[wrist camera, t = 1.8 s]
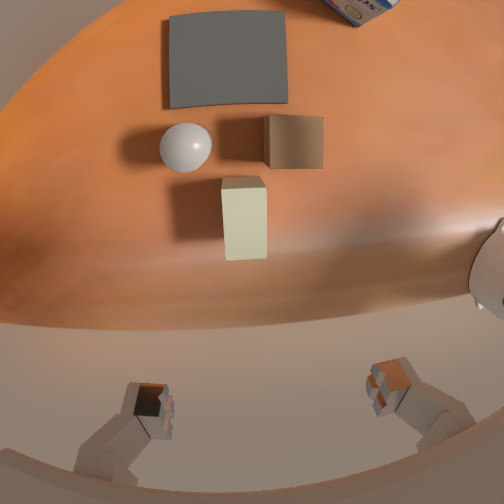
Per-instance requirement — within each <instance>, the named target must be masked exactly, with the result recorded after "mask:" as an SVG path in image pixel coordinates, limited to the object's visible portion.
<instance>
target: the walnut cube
mask: <svg viewBox="0 0 504 504" xmlns="http://www.w3.org/2000/svg"><path fill="white" fill-rule="evenodd" d="M263 140H264V163H265V164H266V165H267V166H268V167H269V168H270V169H323V117H315V116H287V115H269V116H265V117H263Z"/></svg>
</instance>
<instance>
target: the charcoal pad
mask: <svg viewBox="0 0 504 504" xmlns="http://www.w3.org/2000/svg"><path fill="white" fill-rule="evenodd" d="M169 87H170V109H179V108H188V107H199V106H211V105H228V104H287V103H288V80H287V52H286V31H285V13H284V12H283V11H260V10H237V11H214V12H202V13H192V14H183V15H176V16H169Z"/></svg>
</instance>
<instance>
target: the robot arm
mask: <svg viewBox="0 0 504 504" xmlns="http://www.w3.org/2000/svg"><path fill="white" fill-rule="evenodd" d="M469 290H470V293H471V294H472V296H473V297H474V298H475V305H476V307H477V308H478V309H482V308H486V309H487V310H488V311H489V312H490V313H492V314H493V315H494V316H496V317H497V318H498V319H499V320H500V321H502V322H504V218H503V219H502V221H501V222H500V224H499V226H498V228H497V229H496V231H495V232H494V233H493V234H492V235H491V236H490V237H489V238H488V239H487V240H486V242H485V243H484V244H483V246H482V248H481V249H480V251H479V253H478V255H477V257H476V259H475V261H474V264H473V266H472V270H471V273H470V279H469ZM370 371H371V373H372V374H371V375H369V376H368V378H367V381H366V391H367V394H368V396H369V398H371V399H372V400H374V403H373V408H374V410H375V412H376V415H377V417H380V416H384V415H388V414H392V413H395V414H396V415H398V416H399V417H400V418H401V419H403V420H404V421H405V422H406V423H408V424H409V425H410V426H411V427H413V428H414V429H415V430H417V431H418V432H419V433H421V434H422V435H423V437H422V438H421V439H420V440H419V442H418V443H417V445H416V447H417V449H418V451H419V452H418V453H415V454H413V455H410V456H408V457H405V458H403V459H400V460H397V461H395V462H392V463H389V464H386V465H383V466H380V467H377V468H374V469H370V470H367V471H364V472H360V473H357V474H353V475H349V476H345V477H341V478H337V479H333V480H329V481H323V482H318V483H313V484H308V485H302V486H296V487H289V488H282V489H273V490H262V491H249V492H224V493H208V492H206V493H205V492H183V491H170V490H159V489H151V488H144V487H137V482H138V479H137V477H136V476H135V475H134V474H132V472H130V471H129V470H128V467H129V466H130V465H131V464H132V463H133V462H134V460H135V459H136V458H137V457H138V455H139V454H140V453H141V452H142V451H143V449H144V448H145V447H146V446H147V445H148V443H149V442H150V441H151V439H160V440H171V437H172V427H173V426H172V424H171V422H170V420H172V418H174V402H173V399H172V396H170V395H169V394H168V393H169V388H168V386H167V384H150V383H137V382H130V383H129V384H128V386H127V389H126V393H125V397H124V401H123V404H122V408H121V411H120V414H116V415H115V416H114V417H112V418H111V419H110V420H109V421H108V422H107V423H106V424H105V425H103V426H102V427H101V428H100V429H99V430H98V431H97V432H95V433H94V434H93V435H92V436H91V437H90V438H89V439H88V440H86V441H85V442H84V443H83V444H82V445H81V446H80V448H79V451H78V455H77V459H76V462H75V466H74V470H73V472H70V471H67V470H64V469H61V468H58V467H55V466H52V465H50V464H47V463H44V462H41V461H39V460H36V459H33V458H31V457H29V456H26V455H24V454H22V453H19V452H17V451H15V450H12V449H9V448H3V449H2V450H0V504H504V406H503V407H502V408H500V409H499V410H497V411H496V412H494V413H492V414H491V415H489V416H488V417H486V418H484V419H483V420H481V421H479V422H478V423H476V422H475V420H474V418H473V417H472V415H471V413H470V412H469V410H468V409H467V407H466V405H465V404H464V403H463V402H461V401H459V400H457V399H455V398H454V397H452V396H450V395H448V394H446V393H444V392H442V391H441V390H439V389H437V388H435V387H433V386H431V385H430V384H428V383H426V382H423V383H422V381H421V380H420V378H419V377H418V375H417V373H416V372H415V370H414V369H413V367H412V365H411V364H410V362H409V361H408V359H407V358H406V357H402V358H398V359H394V360H389V361H385V362H380V363H376V364H374V365H372V367H371V370H370Z"/></svg>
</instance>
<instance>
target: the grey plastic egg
mask: <svg viewBox="0 0 504 504" xmlns="http://www.w3.org/2000/svg"><path fill="white" fill-rule="evenodd" d="M212 148H213V137H212V135H211V133H210V131H209V130H208V129H207V128H206V127H204V126H203V125H200V124H195V123H180V124H176V125H174V126H172V127H171V128H169V129H168V130H167V131H166V132H165V134H164V135H163V137H162V139H161V142H160V155H161V158H162V160H163V162H164V163H165V164H166V165H167V166H168V167H169V168H170V169H172V170H174V171H177V172H190V171H193V170H196V169H197V168H199V167H200V166H201V165H202V164H203V163H204V162H205V161H206V159H207V158H208V156H209V155H210V153H211V151H212Z"/></svg>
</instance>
